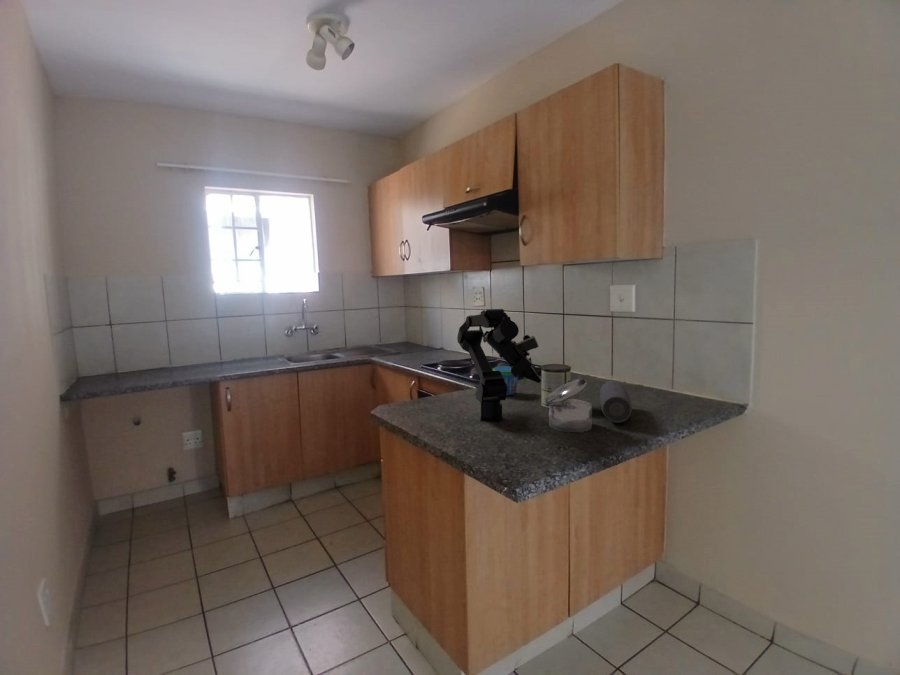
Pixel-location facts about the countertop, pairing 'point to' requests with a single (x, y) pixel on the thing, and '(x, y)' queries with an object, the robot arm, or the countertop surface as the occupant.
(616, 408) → the bluetooth speaker
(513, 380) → the snack cup
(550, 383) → the coffee can
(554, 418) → the grey round canister
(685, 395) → the countertop surface
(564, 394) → the cooker lid
